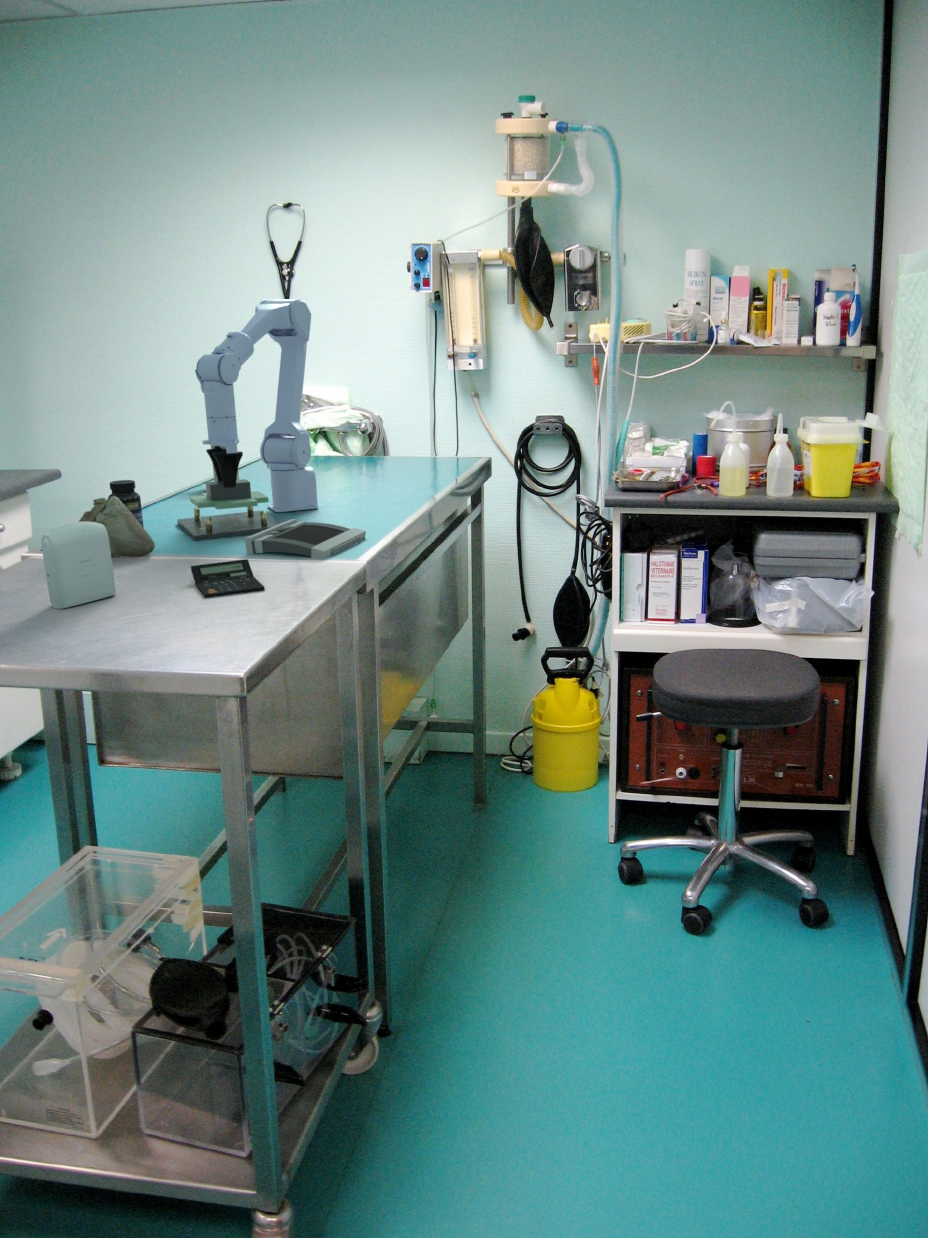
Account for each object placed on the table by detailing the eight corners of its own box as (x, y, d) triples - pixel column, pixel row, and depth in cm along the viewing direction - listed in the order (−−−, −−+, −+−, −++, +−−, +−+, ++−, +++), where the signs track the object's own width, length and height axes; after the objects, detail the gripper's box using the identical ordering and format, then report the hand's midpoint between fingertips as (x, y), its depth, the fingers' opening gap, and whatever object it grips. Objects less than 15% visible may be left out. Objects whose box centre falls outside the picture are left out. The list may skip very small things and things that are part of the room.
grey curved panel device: (291, 519, 207) (366, 516, 201) (294, 542, 208) (369, 540, 203) (244, 538, 192) (324, 536, 186) (248, 563, 193) (327, 561, 187)
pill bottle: (135, 541, 204) (128, 484, 201) (106, 540, 206) (99, 484, 202) (150, 534, 210) (144, 479, 207) (122, 533, 211) (115, 478, 208)
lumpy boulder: (131, 572, 187) (58, 541, 189) (157, 578, 198) (88, 549, 200) (156, 513, 187) (82, 482, 189) (181, 522, 198) (111, 493, 200)
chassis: (263, 514, 226) (261, 498, 225) (286, 530, 211) (285, 513, 210) (177, 524, 219) (176, 507, 218) (195, 540, 204) (193, 522, 203)
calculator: (205, 600, 165) (203, 581, 164) (192, 582, 175) (190, 565, 174) (264, 592, 168) (263, 573, 167) (248, 575, 178) (247, 558, 178)
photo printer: (60, 611, 159) (49, 530, 156) (45, 606, 162) (34, 527, 158) (120, 596, 167) (111, 518, 163) (105, 591, 170) (96, 515, 166)
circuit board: (254, 493, 222) (253, 474, 221) (272, 504, 210) (271, 484, 209) (187, 499, 217) (185, 479, 216) (201, 510, 205) (199, 490, 203)
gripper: (193, 414, 213) (199, 481, 217) (208, 421, 201) (215, 492, 205) (228, 412, 216) (233, 478, 220) (245, 418, 203) (251, 489, 207)
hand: (227, 485), depth 212 cm, fingers closed on circuit board, 4 cm apart
